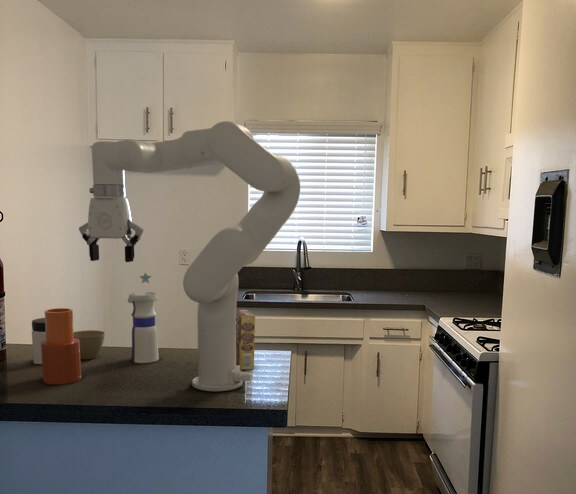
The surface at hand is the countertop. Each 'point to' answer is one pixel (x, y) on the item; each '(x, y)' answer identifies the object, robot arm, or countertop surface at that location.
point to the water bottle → (144, 326)
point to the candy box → (245, 339)
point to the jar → (38, 339)
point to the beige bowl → (90, 343)
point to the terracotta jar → (61, 362)
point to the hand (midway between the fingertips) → (112, 261)
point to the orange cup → (59, 326)
